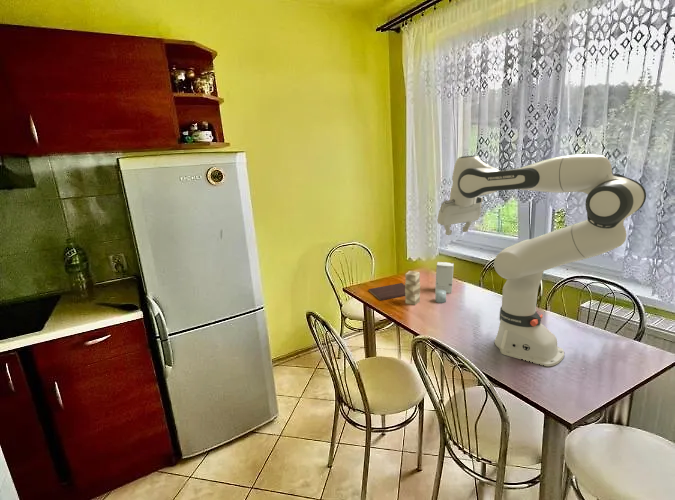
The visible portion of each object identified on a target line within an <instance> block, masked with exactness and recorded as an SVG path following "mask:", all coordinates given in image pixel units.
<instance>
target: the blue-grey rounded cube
mask: <svg viewBox="0 0 675 500" xmlns="http://www.w3.org/2000/svg"><path fill="white" fill-rule="evenodd" d="M434 291H435V290H434ZM434 293H435V294H434V295H435V296H434V297H435V299H434V301H435V302H436V303H438V304H445V303H446V302H447V293H446V291H445V290H436V291H435V292H434Z"/></svg>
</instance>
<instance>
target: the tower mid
mask: <svg viewBox="0 0 675 500" xmlns="http://www.w3.org/2000/svg"><path fill="white" fill-rule="evenodd" d="M404 285H405V293H407V294H410V295H412V296H413V295H416V294H419V293H420V294H421V282H419V283H418V284H417V285H416V286H415V285H409V284H406V282H404Z"/></svg>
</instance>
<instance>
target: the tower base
mask: <svg viewBox="0 0 675 500" xmlns="http://www.w3.org/2000/svg"><path fill="white" fill-rule="evenodd" d="M420 294H421V292H420V293H419V294H416V295H413V296H412V295H410V294H407V293H405V296H404V297H405V304H407V305H411V306H416V305H418V304H419V303H420V302H421V301H420V300H421V295H420Z"/></svg>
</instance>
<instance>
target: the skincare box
mask: <svg viewBox="0 0 675 500" xmlns="http://www.w3.org/2000/svg"><path fill="white" fill-rule="evenodd" d="M454 265H455V264H454V262H446V261H443V262H442V261H437V262H436V273H435V287H434V291H436V290H445V291H446V294H452V292H453V278H454Z"/></svg>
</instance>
